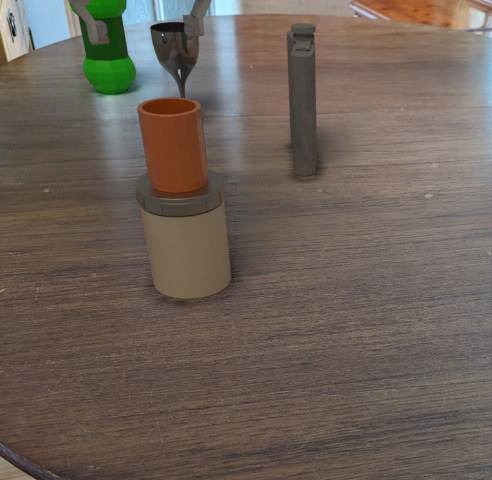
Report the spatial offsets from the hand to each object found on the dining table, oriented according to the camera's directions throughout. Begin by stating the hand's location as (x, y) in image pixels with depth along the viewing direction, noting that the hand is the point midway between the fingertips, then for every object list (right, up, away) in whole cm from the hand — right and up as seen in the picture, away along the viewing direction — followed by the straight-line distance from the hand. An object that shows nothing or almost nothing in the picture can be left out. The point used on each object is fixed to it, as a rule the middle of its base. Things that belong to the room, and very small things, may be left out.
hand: (148, 39), depth 71 cm
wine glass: (-13, +14, +61) cm, 64 cm away
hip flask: (+10, +2, +47) cm, 48 cm away
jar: (+1, -22, +15) cm, 26 cm away
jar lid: (+1, -12, +8) cm, 15 cm away
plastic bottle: (-30, +23, +72) cm, 81 cm away
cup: (+1, -12, +7) cm, 14 cm away
